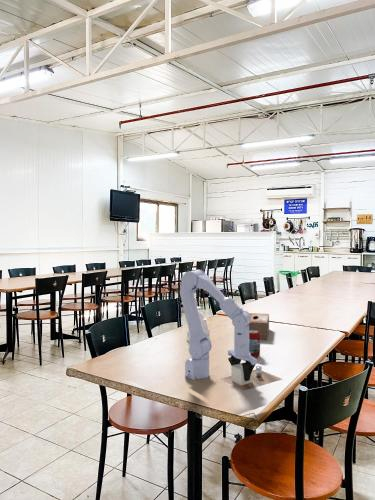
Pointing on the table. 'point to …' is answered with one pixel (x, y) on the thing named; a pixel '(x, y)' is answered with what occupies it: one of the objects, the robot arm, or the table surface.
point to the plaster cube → (239, 375)
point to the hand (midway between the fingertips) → (241, 378)
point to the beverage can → (254, 343)
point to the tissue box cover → (260, 324)
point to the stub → (258, 371)
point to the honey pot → (203, 323)
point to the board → (254, 380)
